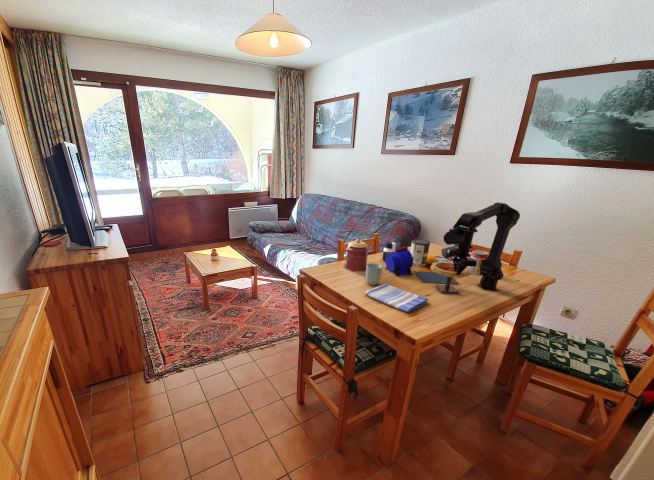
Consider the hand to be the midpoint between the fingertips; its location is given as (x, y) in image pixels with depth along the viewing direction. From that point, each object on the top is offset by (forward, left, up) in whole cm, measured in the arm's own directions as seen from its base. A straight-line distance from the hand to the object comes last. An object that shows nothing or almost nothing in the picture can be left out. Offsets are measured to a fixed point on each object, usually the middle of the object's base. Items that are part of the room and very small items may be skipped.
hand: (456, 274), depth 145 cm
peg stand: (0, -6, -11) cm, 13 cm away
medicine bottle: (+20, -50, -11) cm, 55 cm away
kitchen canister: (+42, -35, -11) cm, 56 cm away
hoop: (0, -7, -1) cm, 8 cm away
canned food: (-26, -35, -11) cm, 45 cm away
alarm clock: (+19, -30, -11) cm, 37 cm away
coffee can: (+3, -47, -11) cm, 49 cm away
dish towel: (+28, +8, -11) cm, 31 cm away
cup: (+36, -10, -11) cm, 39 cm away
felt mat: (0, -23, -11) cm, 26 cm away
